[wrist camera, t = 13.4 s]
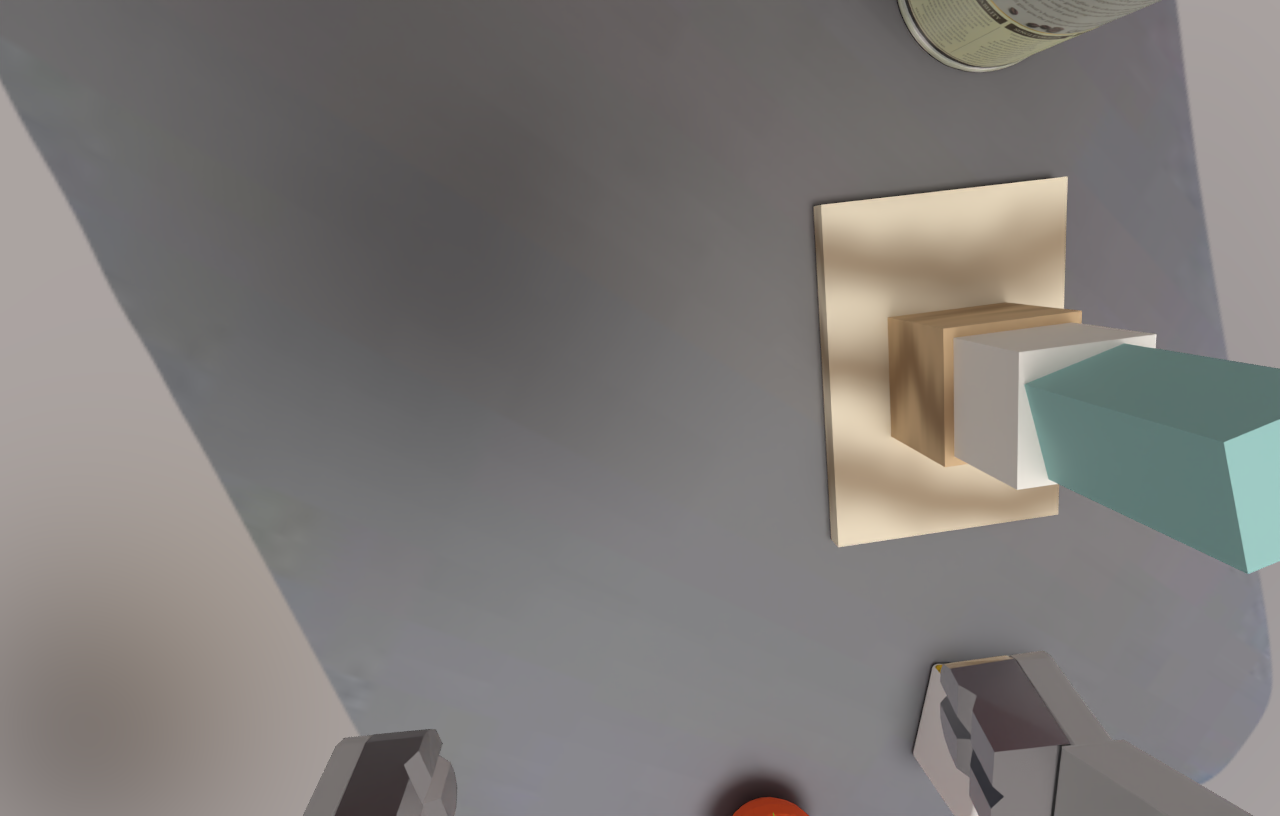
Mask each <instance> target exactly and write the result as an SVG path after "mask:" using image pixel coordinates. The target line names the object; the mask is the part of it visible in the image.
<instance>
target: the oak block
mask: <svg viewBox="0 0 1280 816" xmlns="http://www.w3.org/2000/svg"><path fill="white" fill-rule="evenodd" d="M1081 317H1082V311H1078V310H1069V309H1061V308H1052V307H1043V306H1034V305H1025V304H1016V303H1007V302H1005V303H997V304H989V305H981V306H973V307H965V308H957V309H950V310H942V311H934V312H926V313H918V314H910V315H902V316H894V317H888V350H889V383H890V415H891V437H893V438H895V439H896V440H898V441H900V442H902V443H903V444H905V445H907V446H909V447H910V448H912V449H914V450H916V451H917V452H919V453H921V454H923V455H924V456H926V457H928V458H930V459H931V460H933V461H935V462H936V463H938V464H940V465H942V466H943V467H951V466H958V465H965V464H968V463H966V462H964V461H962V460H960V459H958V458H956V457H954V350H953V338H955V337H963V336H971V335H979V334H986V333H994V332H1002V331H1009V330H1017V329H1025V328H1033V327H1040V326H1048V325H1056V324H1063V323H1071V322H1072V323H1079V324H1081Z"/></svg>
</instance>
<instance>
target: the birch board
mask: <svg viewBox="0 0 1280 816" xmlns="http://www.w3.org/2000/svg"><path fill="white" fill-rule="evenodd" d="M813 207H814V226H815V245H816V264H817V282H818V301H819V320H820V339H821V357H822V376H823V395H824V414H825V432H826V451H827V470H828V488H829V507H830V526H831V540H832V541H833V542H834V543H835V544H836V545H837V546H838V547H843V546H850V545H857V544H863V543H870V542H877V541H883V540H890V539H897V538H903V537H910V536H917V535H923V534H930V533H937V532H944V531H950V530H957V529H964V528H970V527H977V526H984V525H990V524H997V523H1004V522H1010V521H1017V520H1024V519H1030V518H1037V517H1044V516H1051V515H1057V514H1058V499H1059V484H1054V485H1047V486H1040V487H1034V488H1027V489H1020V490H1016V489H1015V488H1013V487H1011V486H1009V485H1007V484H1005V483H1003V482H1001V481H999V480H998V479H996V478H994V477H992V476H990V475H988V474H986V473H984V472H983V471H981V470H979V469H977V468H975V467H973V466H971V465H969V464H965V465H958V466H951V467H943V466H942V465H940V464H938V463H936V462H935V461H933V460H931V459H930V458H928V457H926V456H924V455H923V454H921V453H919V452H917V451H916V450H914V449H912V448H910V447H909V446H907V445H905V444H903V443H902V442H900V441H898V440H896V439H895V438H893V437H891V415H890V383H889V350H888V317H894V316H902V315H910V314H918V313H926V312H934V311H942V310H950V309H957V308H965V307H973V306H981V305H989V304H997V303H1005V302H1007V303H1016V304H1025V305H1034V306H1043V307H1052V308H1061V309H1064V285H1065V249H1066V213H1067V177H1060V178H1051V179H1042V180H1033V181H1025V182H1016V183H1007V184H999V185H990V186H981V187H972V188H964V189H955V190H946V191H938V192H929V193H920V194H911V195H903V196H894V197H885V198H876V199H868V200H859V201H850V202H842V203H833V204H824V205H818V206H813Z"/></svg>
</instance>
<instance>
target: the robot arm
mask: <svg viewBox="0 0 1280 816" xmlns="http://www.w3.org/2000/svg"><path fill="white" fill-rule="evenodd" d="M940 683H941V685H942V687H943V689H944V691H945V693H946V695H947V696H946V697H945V698H944V699H943V700H942V702H941V703H940V719H941V724H942V729H943V734H944V738H945V741H946V744H947V747H948V750H949V753H950V755H951V757H952V759H953V762H954V764H955V766H956V768H957V769H958V770H960V771H961V772H962V773H964V774H965V775H967V776H968V777H969V778H970V781H969V796H970V799H971V801H972V803H973V805H974V807H975V809H976V811H977V813H978V816H1253V815H1251V814H1250V813H1248V812H1246V811H1244V810H1243V809H1241V808H1239V807H1238V806H1236V805H1234V804H1232V803H1231V802H1229V801H1227V800H1226V799H1224V798H1222V797H1221V796H1219V795H1217V794H1215V793H1214V792H1212V791H1210V790H1208V789H1207V788H1205V787H1204V786H1202V785H1200V784H1198V783H1197V782H1195V781H1193V780H1192V779H1190V778H1188V777H1186V776H1185V775H1183V774H1181V773H1180V772H1178V771H1176V770H1175V769H1173V768H1171V767H1169V766H1168V765H1166V764H1164V763H1163V762H1161V761H1159V760H1157V759H1156V758H1154V757H1152V756H1151V755H1149V754H1147V753H1146V752H1144V751H1142V750H1140V749H1139V748H1137V747H1135V746H1134V745H1132V744H1130V743H1128V742H1127V741H1125V740H1112V739H1111V737H1110V736H1109V735H1108V733H1107V732H1106V731H1105V729H1104V728H1103V727H1102V725H1101V724H1100V722H1099V721H1098V720H1097V718H1096V717H1095V716H1094V714H1093V713H1092V711H1091V710H1090V709H1089V707H1088V706H1087V705H1086V703H1085V702H1084V701H1083V699H1082V698H1081V696H1080V695H1079V694H1078V692H1077V691H1076V690H1075V688H1074V687H1073V685H1072V684H1071V683H1070V681H1069V680H1068V679H1067V677H1066V676H1065V675H1064V673H1063V672H1062V670H1061V669H1060V668H1059V666H1058V665H1057V664H1056V662H1055V661H1054V660H1053V658H1052V657H1051V655H1049V654H1048V653H1046V652H1045V651H1038V652H1031V653H1023V654H1015V655H1010V656H1006V655H1005V656H998V657H990V658H983V659H976V660H969V661H961V662H954V663H947V664H943V665H942V668H941V670H940ZM442 744H443V743H442V741H441V739H440V737H439V735H438V733H437V731H436V730H435V729H425V730H415V731H405V732H394V733H384V734H374V735H368V736H358V737H348V738H344V739H343V740H342V741H341V742H340V743H339V744H338V745H337V746H336V747H335V749H334V751H333V753H332V755H331V757H330V759H329V761H328V764H327V766H326V768H325V770H324V772H323V774H322V776H321V778H320V780H319V783H318V785H317V787H316V789H315V791H314V793H313V795H312V797H311V799H310V802H309V804H308V806H307V808H306V810H305V812H304V814H303V816H454V815H455V810H456V803H457V783H456V777H455V772H454V770H453V767H452V765H451V762H449V761H448V760H446V759H445V758H443V757H442V756H440V755H439V754H440V751H441V747H442Z"/></svg>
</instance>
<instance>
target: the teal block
mask: <svg viewBox="0 0 1280 816" xmlns="http://www.w3.org/2000/svg"><path fill="white" fill-rule="evenodd" d="M1024 386H1025V390H1026V393H1027V397H1028V401H1029V405H1030V409H1031V413H1032V417H1033V421H1034V425H1035V428H1036V432H1037V436H1038V440H1039V444H1040V448H1041V452H1042V456H1043V460H1044V463H1045V467H1046V471H1047V475H1048V479H1049V480H1051V481H1053V482H1055V483H1057V484H1059V485H1062V486H1064V487H1066V488H1068V489H1070V490H1072V491H1074V492H1076V493H1078V494H1081V495H1083V496H1085V497H1087V498H1089V499H1091V500H1093V501H1095V502H1097V503H1099V504H1102V505H1104V506H1106V507H1108V508H1110V509H1112V510H1114V511H1116V512H1118V513H1121V514H1123V515H1125V516H1127V517H1129V518H1131V519H1133V520H1135V521H1137V522H1139V523H1142V524H1144V525H1146V526H1148V527H1150V528H1152V529H1154V530H1156V531H1158V532H1161V533H1163V534H1165V535H1167V536H1169V537H1171V538H1173V539H1175V540H1177V541H1180V542H1182V543H1184V544H1186V545H1188V546H1190V547H1192V548H1194V549H1196V550H1198V551H1201V552H1203V553H1205V554H1207V555H1209V556H1211V557H1213V558H1215V559H1217V560H1220V561H1222V562H1224V563H1226V564H1228V565H1230V566H1232V567H1234V568H1236V569H1238V570H1241V571H1243V572H1245V573H1247V574H1249V573H1252V572H1254V571H1257V570H1259V569H1262V568H1264V567H1266V566H1269V565H1271V564H1274V563H1276V562H1278V561H1280V369H1278V368H1271V367H1266V366H1259V365H1254V364H1247V363H1241V362H1235V361H1229V360H1223V359H1217V358H1211V357H1205V356H1198V355H1192V354H1186V353H1180V352H1174V351H1168V350H1162V349H1156V348H1149V347H1143V346H1137V345H1131V344H1125V343H1124V344H1121V345H1119V346H1117V347H1114V348H1112V349H1109V350H1107V351H1104V352H1102V353H1100V354H1097V355H1095V356H1092V357H1090V358H1087V359H1085V360H1082V361H1080V362H1078V363H1075V364H1073V365H1070V366H1068V367H1065V368H1063V369H1061V370H1058V371H1056V372H1053V373H1051V374H1048V375H1046V376H1043V377H1041V378H1039V379H1036V380H1034V381H1031V382H1029V383H1026V384H1024Z"/></svg>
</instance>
